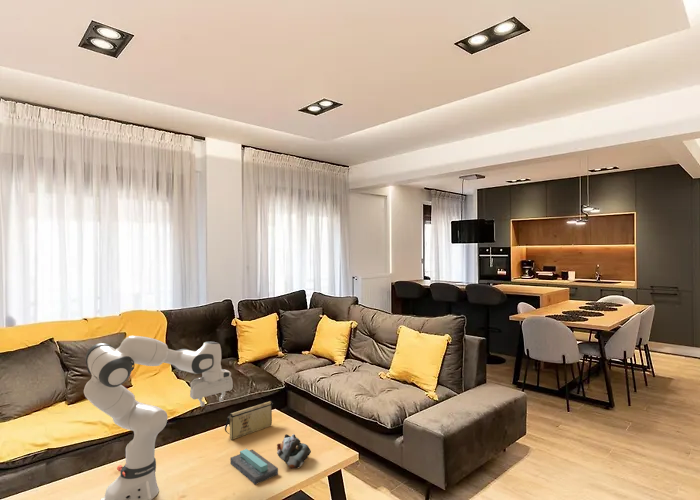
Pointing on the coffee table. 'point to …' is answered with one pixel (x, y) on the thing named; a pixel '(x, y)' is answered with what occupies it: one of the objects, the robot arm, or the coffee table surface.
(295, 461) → the lucky cat figurine
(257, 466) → the peg strip
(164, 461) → the coffee table surface
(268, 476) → the hole plate
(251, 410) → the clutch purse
